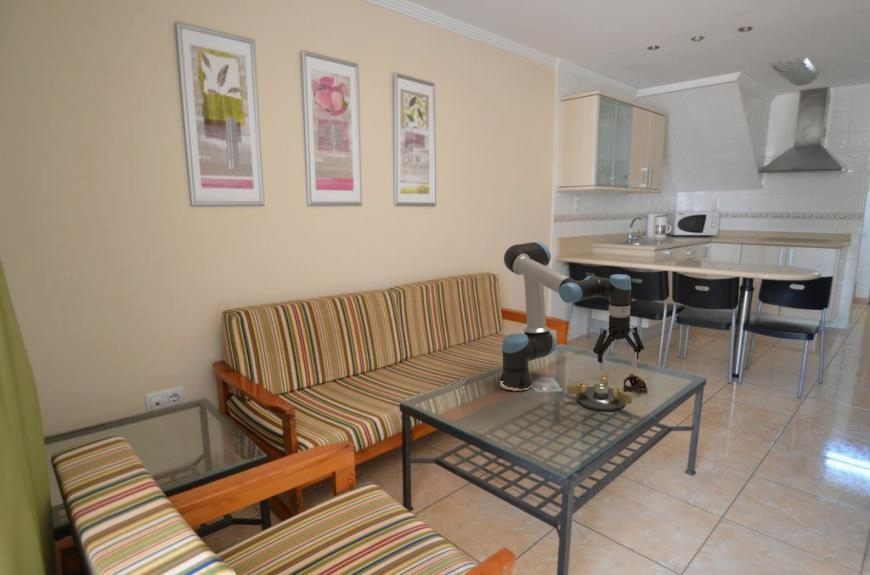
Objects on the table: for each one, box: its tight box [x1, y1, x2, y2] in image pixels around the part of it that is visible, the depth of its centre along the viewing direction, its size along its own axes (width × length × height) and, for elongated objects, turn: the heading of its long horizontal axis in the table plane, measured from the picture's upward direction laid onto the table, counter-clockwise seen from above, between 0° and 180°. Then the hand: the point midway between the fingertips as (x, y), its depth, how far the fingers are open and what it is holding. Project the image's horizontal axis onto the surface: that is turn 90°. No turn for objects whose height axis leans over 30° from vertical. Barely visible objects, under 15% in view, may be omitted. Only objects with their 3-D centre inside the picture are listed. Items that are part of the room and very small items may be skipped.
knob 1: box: [566, 383, 588, 397], centre depth 199 cm, size 8×3×5 cm, turn 91°
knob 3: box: [612, 387, 633, 405], centre depth 190 cm, size 8×3×5 cm, turn 31°
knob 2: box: [600, 371, 610, 386], centre depth 208 cm, size 8×3×5 cm, turn 151°
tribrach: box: [575, 382, 627, 412], centre depth 199 cm, size 20×20×7 cm
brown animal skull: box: [622, 373, 648, 393], centre depth 207 cm, size 12×10×8 cm
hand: (617, 368), depth 185 cm, fingers open, 12 cm apart
